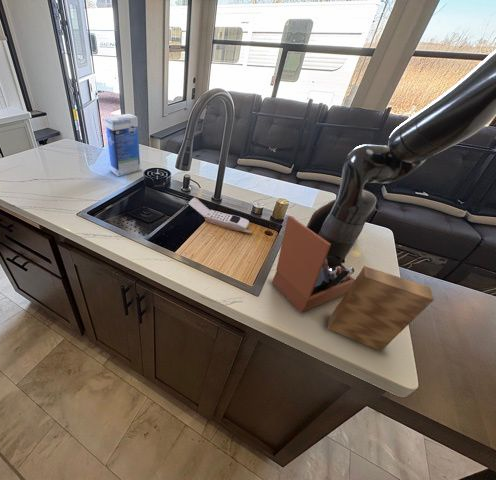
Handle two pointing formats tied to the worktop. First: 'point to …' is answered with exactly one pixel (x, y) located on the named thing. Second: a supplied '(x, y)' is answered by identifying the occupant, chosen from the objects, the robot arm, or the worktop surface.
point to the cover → (301, 256)
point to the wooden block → (378, 307)
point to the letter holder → (320, 217)
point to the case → (315, 297)
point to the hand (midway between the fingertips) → (312, 281)
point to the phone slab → (320, 280)
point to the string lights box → (123, 143)
